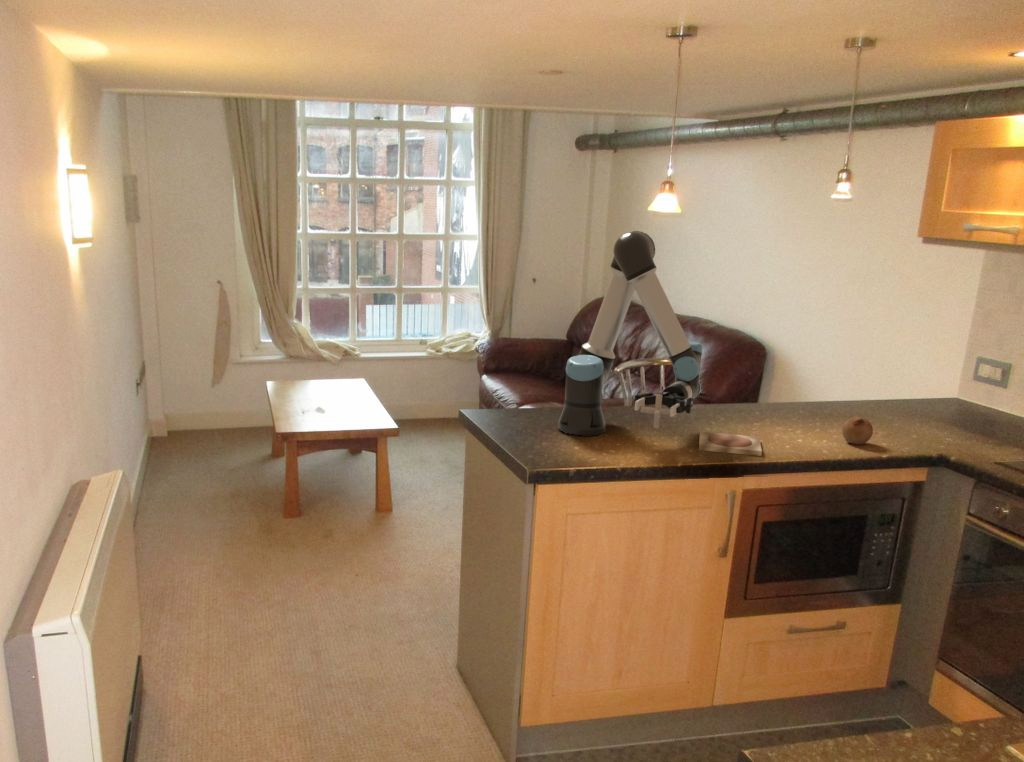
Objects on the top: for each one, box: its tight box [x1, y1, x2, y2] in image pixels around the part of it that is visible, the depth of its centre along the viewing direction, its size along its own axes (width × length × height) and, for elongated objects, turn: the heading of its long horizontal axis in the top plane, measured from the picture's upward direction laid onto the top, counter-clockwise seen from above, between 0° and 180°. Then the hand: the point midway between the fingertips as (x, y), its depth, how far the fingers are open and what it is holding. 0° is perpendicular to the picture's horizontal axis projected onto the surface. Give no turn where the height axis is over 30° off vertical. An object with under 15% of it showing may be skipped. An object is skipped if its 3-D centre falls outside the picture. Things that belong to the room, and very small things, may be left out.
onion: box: [841, 416, 874, 445], centre depth 256 cm, size 9×9×10 cm
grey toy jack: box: [640, 393, 670, 429], centre depth 240 cm, size 10×10×10 cm
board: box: [698, 431, 763, 457], centre depth 249 cm, size 18×16×2 cm
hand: (653, 409), depth 236 cm, fingers closed on grey toy jack, 10 cm apart
